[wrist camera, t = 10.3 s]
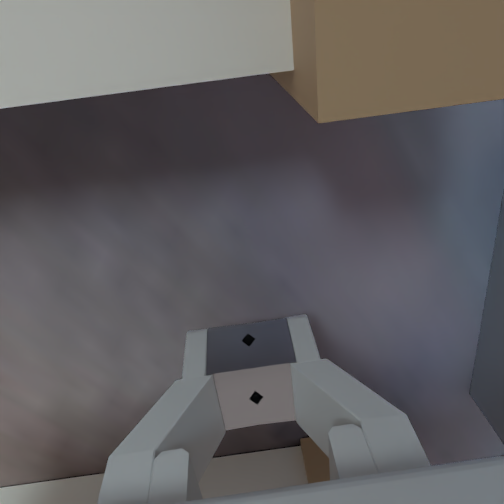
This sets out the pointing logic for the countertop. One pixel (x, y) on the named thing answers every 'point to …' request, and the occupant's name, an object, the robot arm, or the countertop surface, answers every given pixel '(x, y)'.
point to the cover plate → (492, 342)
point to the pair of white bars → (241, 65)
